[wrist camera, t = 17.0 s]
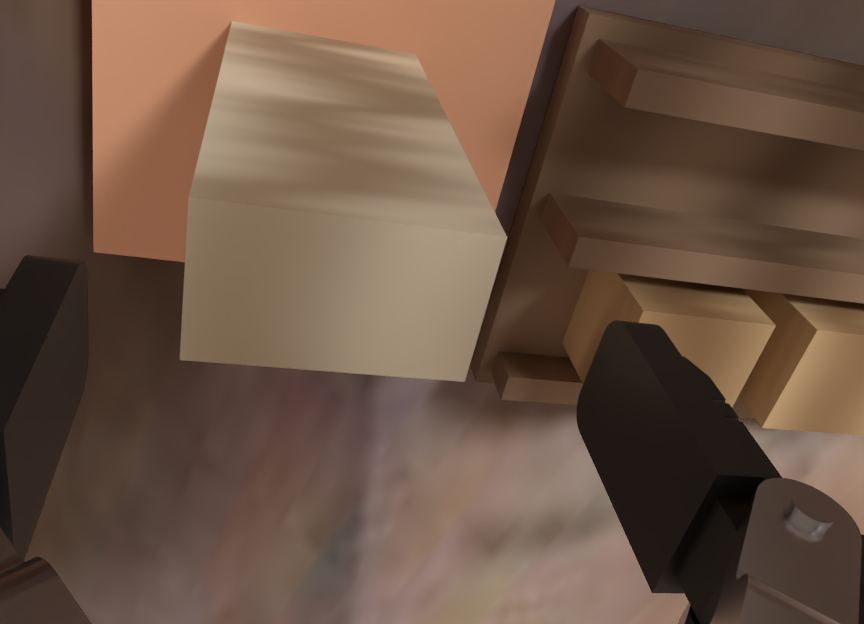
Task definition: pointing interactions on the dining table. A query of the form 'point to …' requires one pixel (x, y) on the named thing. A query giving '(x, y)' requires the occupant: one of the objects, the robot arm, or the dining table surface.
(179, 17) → the tile
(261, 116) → the long beige rectangular prism
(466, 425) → the dining table surface
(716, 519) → the robot arm
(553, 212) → the rack
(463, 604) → the dining table surface
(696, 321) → the offcut
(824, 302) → the offcut
